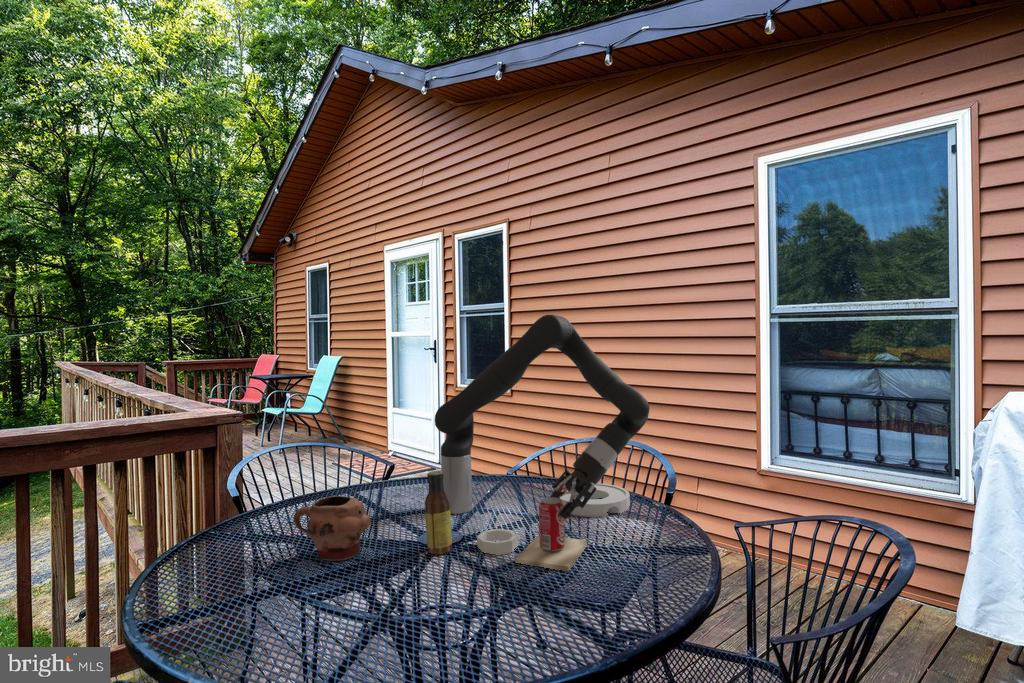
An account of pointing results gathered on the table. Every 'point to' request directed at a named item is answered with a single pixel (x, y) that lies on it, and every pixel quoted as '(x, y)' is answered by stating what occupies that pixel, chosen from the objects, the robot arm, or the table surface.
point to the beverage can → (551, 524)
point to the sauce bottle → (437, 516)
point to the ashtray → (602, 501)
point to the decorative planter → (335, 526)
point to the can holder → (499, 548)
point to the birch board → (552, 554)
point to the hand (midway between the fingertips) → (554, 511)
